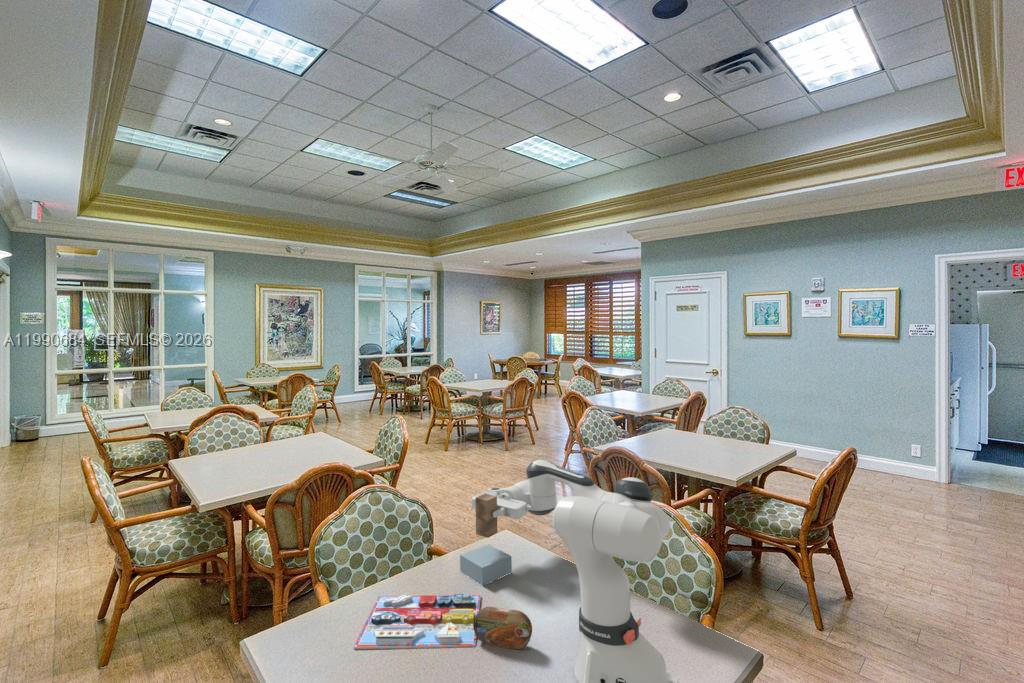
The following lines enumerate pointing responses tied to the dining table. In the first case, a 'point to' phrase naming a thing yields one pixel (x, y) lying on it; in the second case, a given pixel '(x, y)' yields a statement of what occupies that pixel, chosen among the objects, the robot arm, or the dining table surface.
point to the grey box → (485, 564)
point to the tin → (503, 627)
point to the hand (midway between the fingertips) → (484, 512)
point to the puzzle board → (420, 622)
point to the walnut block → (486, 515)
